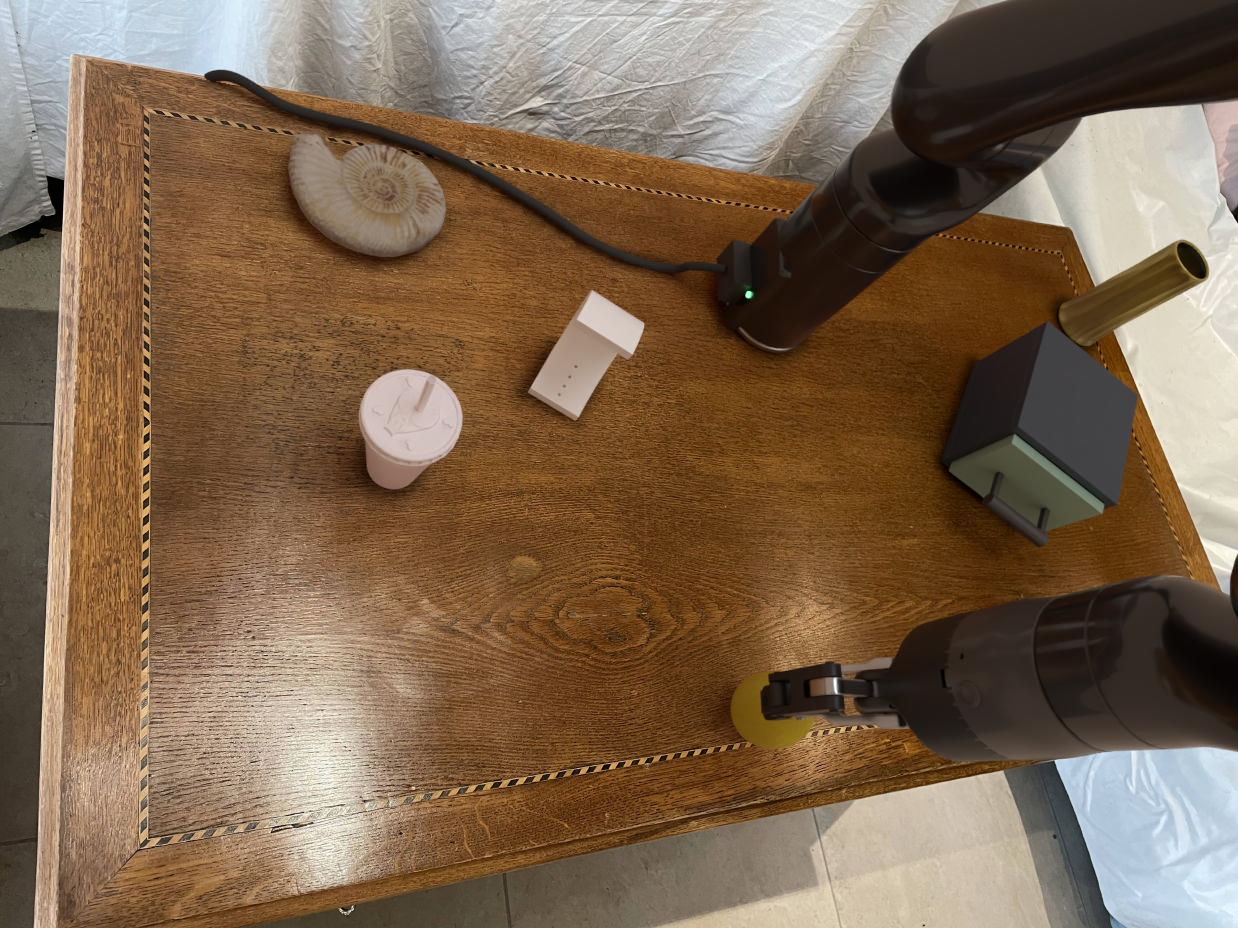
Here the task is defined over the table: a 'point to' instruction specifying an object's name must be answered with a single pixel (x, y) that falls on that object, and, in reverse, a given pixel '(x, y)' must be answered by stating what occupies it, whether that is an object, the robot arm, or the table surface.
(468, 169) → the robot arm
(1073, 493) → the drawer
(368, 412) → the smoothie
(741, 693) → the lemon
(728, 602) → the table surface
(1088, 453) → the cabinet
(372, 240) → the fossil
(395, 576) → the table surface
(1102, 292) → the vase
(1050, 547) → the table surface
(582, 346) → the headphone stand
